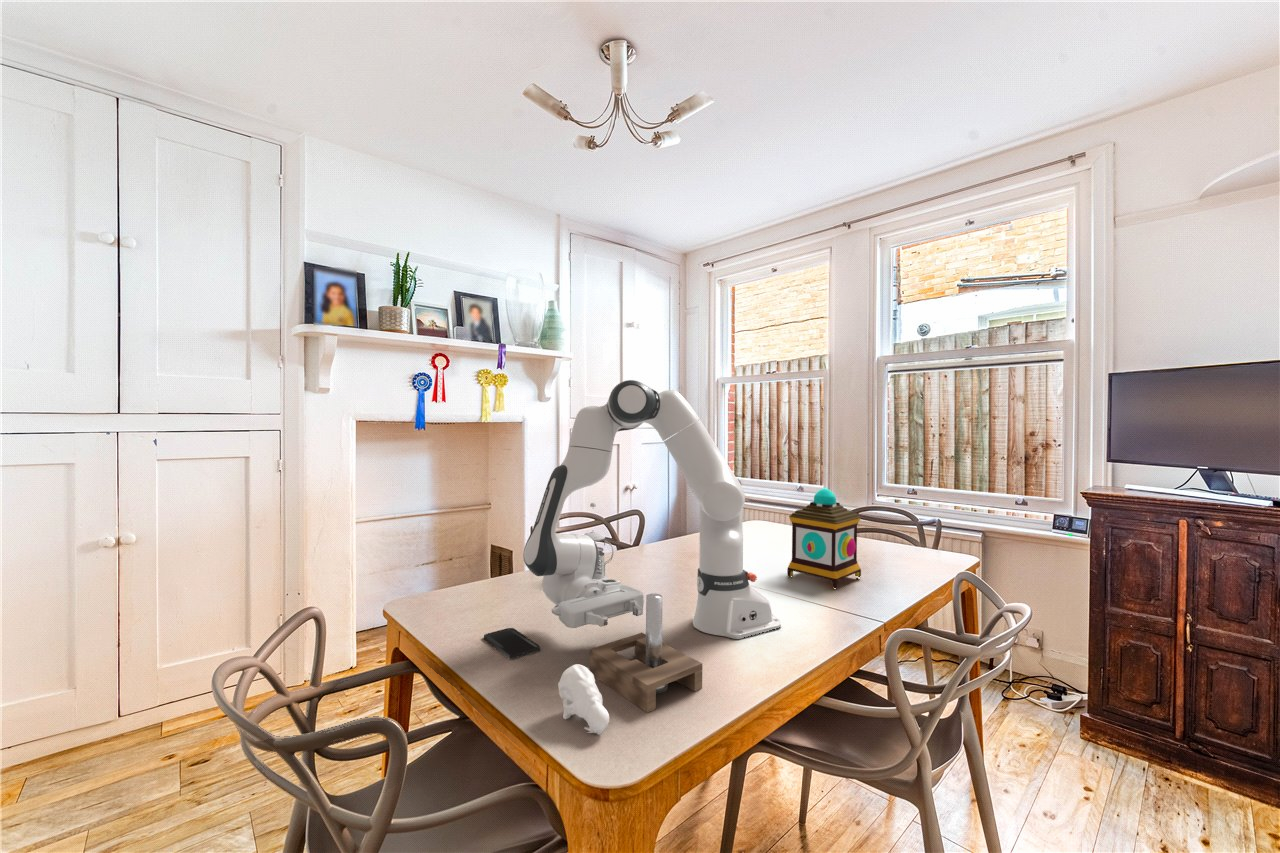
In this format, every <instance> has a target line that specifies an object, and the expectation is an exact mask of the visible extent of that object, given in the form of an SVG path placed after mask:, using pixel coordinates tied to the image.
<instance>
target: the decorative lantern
mask: <svg viewBox="0 0 1280 853" xmlns="http://www.w3.org/2000/svg"><path fill="white" fill-rule="evenodd" d="M788 518H789V520H790V522H791V526H792V531H791V534H792V535H791V560H790V562H789V563H788V567H787V571H786V572H787V573H786V574H787V577H788V576H789V577H791V576H792V577H793V575H794V572H797V573H801V574H803V575H808V576H813V577H817V578H821V579H824V580H829V581H830V582H831V585H832V588H833V587H834V588H837V589H838V584H839V581H840V580H843V579H844V578H847V577H849V576H851V575H855V576H858V577H860V576H862V570H861V567H860V565H859V563H858V560H857V557H858V556H857V554H858V553H857V550H858V549H857V548H858V546H857V545H858V524H859V523H860V521H861V516H860V515H859V514H858V513H855V511H853V510H849V509H847V508H846V507H844V506H843V505H841V503H840V502H837V497H836V494H834V492H832V491H831V490H830V489H829V488H826V487H824V488H821V489H819V490H818V491H816V493H815V494H814V497H813V501H810V503H809V504H807V505H806V506H805V507H803V508H801V509H797V510H795V511H794V512H792V513H791V514H790V515H789V516H788ZM855 576H854V577H855ZM789 577H788V578H789ZM860 578H861V577H860Z"/></svg>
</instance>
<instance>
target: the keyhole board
mask: <svg viewBox="0 0 1280 853" xmlns="http://www.w3.org/2000/svg"><path fill="white" fill-rule="evenodd" d="M630 648H634V658H635V659H633V660H630V659H628V658H627V657H625V656H623V655H621V654H620V653H619V652H621V651H624V650H628V649H630ZM588 653H589V654H588V655H589V656H588V657H589V660H588V661H589V667H588V669H589V671H590V672H592V673H593V675H594V678H595V679H597V680H599V681H601V682H602V683H603V684H605V685H606V686H608V687H609V688H611V689H612V690H613V691H615V692H617V693H618V694H619V695H621V696H622V697H624V698H625V699H627V700H628V701H629V702H631V703H632V704H634V705H636V706H637V707H638V708H640V709H641V710H643V711H644V712H645V713H649V712H652V711H654V710H656V708H657V694H656V688H658V687H661V686H663V685H666V684H668V685H669V683H673V682H677V683H680V684H681V685H683V686H684V685H685V687H686V688H688V689H690V690H691V691H693V692H697V691H700V690H702V689H703V662H701V661H699V660H697V659H695V658H693V657H691V656H689V655H687V654H686V653H683V652H681V651H679V650H677V649H676V648H674V647H671V646H669V645H667V644H666V643H663V642H662V665H660V666H658V667H655V668H651V667H649V666H648V665H646V633H644V632H639V633H635V634H632V635H630V636H626V637H624V638H620V639H617V640H614V641H611V642H608V643H605V644H602V645H598V646H595V647H592V648H589V652H588ZM701 688H702V689H701ZM699 689H700V690H699Z"/></svg>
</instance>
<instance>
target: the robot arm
mask: <svg viewBox="0 0 1280 853" xmlns="http://www.w3.org/2000/svg"><path fill="white" fill-rule="evenodd" d="M644 423H646V424H648V425H649V426H651V427H653V429H654V430H655V431H656V432H657V433H658V435H659V437H660V439H661V440H662V442H663V443H664V445H665V447H666V449H667V450H668V452H669V453H670V455H671V457H672V458H673V460H674V461H675V463H676V465H677V466H678V468H679V470H680V472H681V474H682V475H683V477H684V479H685V481H686V482H687V484H688V487H689V488H690V490H691V492H692V493H693V495H694V497H695V499H696V500H697V503H698V504H699V549H698V550H699V558H698V559H699V560H698V564H699V565H698V569H697V577H696V578H697V579H696V581H697V582H696V584H697V585H696V586H697V601H696V608H695V612H694V616H693V619H692V623H691V624H692V626H693V627H694V628H695V629H696V630H698V631H699V632H702V633H706V634H708V635H709V634H710V635H714V636H722V637H727V638H729V639H732V640H733V639H734V640H741V639H745V638H748V636H749V637H752V636H756V635H759V633H760V634H763V633H762V632H764V633H766V632H765V631H768V630H772V629H775V628H779V627H781V628H782V623H781V621H780V619H779V618H778V617H777V616H775V615H774V614H773V613H772V608H771V604H770V602H769V600H768V598H767V597H766V596H765V595H763V594H762V593H761V592H759V591H758V590H757V589H756V588H755V587H753V586H752V585H751V584H750V582H751V583H755V582H756V581H757V579H758V577H757V575H756V573H753V572H749V571H747V570H745V569H743V567H744V534H743V533H744V530H743V529H744V528H743V509H744V507H745V502H746V495H745V491H744V489H743V486H742V485H741V482H740V481H739V479H738V477H737V476H736V475H735V474H734V472H733V471H732V469H731V468H730V466H729V463H727V460H726V459H725V458H724V456H723V454H722V453H721V451H720V449H719V448H718V446H717V444H716V443H715V441H714V440H713V438H712V436H711V435H710V433H709V431H708V430H707V428H706V427H705V424H703V422H702V420H701V418H700V417H699V416H698V414H697V412H696V411H695V409H694V408H693V406H692V405H691V404H690V403H689V402H688V401H687V400H686V398H685V397H684V396H683V395H682V394H681V393H680V392H679V391H677V390H674V389H667V390H663V391H661V392H658V391H657V390H655V389H653V388H651V387H650V386H647V385H646V384H644V383H643V382H640V381H638V380H634V379H628V380H624V381H623V380H622V381H621V382H620V383H617V384H616V385H615V386H614V388H612V390H611V392H610V395H609V396H608V400H607V402H606V404H604V405H602V406H601V405H600V406H598V405H597V406H596V405H589V406H585V407H583V408H581V409H580V410H579V411H578V412H577V414H576V417H575V419H574V422H573V424H572V425H573V426H572V430H571V433H570V437H569V441H568V442H569V444H568V448H567V453H566V455H565V457H564V459H563V462H562V463H561V464H560V465H558V466H557V467H555V468H554V469H553V471H552V472H551V474H550V476H549V478H548V481H547V485H546V487H545V490H544V493H543V497H542V500H541V503H540V506H539V509H538V513H537V515H536V519H535V521H534V526H533V528H532V530H531V532H530V535H529V537H528V539H527V540H526V543H525V546H524V549H523V562H524V564H525V566H526V567H527V568H528V569H527V570H529V572H531V573H532V574H533V575H534V576H536V577H543V578H542V582H541V586H542V587H541V588H542V591H543V593H544V595H545V597H546V598H547V600H549V601H550V602H551V603H552V604H554V605H555V606H554V607H553V608H551V610H550V611H551V613H552V614H554V615H555V616H557V617H558V619H559V621H560V622H561V623H562V624H563V625H564V626H566V627H567V628H570V629H576V628H580V627H583V626H587V625H596V626H599V627H605V626H608V624H609V622H608V619H612V618H615V617H619V616H622V615H626V614H630V613H632V615H633V616H635V617H640V616H642V615H644V602H645V600H644V598H645V597H644V594H643V592H642V591H641V590H639V589H637V588H635V587H633V586H630V585H629V584H624V583H623V584H622V583H621V581H620V580H619V579H607V580H596V579H593V578H594V575H595V573H596V570H597V567H598V563H599V561H600V560H599V556H600V555H599V551H598V547H599V546H597V543H596V541H594V540H593V539H592V538H591V537H590V536H589V535H584V534H579V533H578V534H577V533H569V534H568V533H559V532H558V533H557V529H558V524H559V521H560V517H561V515H562V511H563V508H564V504H565V502H566V500H567V498H568V497H569V496H570V495H571V494H572V493H574V492H575V491H577V490H580V489H583V488H587V487H590V486H593V485H595V484H597V483H599V482H600V481H602V480H603V479H604V478H605V477H606V476H607V474H608V472H609V470H610V467H611V463H612V455H613V449H614V442H615V437H616V434H617V433H618V432H622V431H631V430H634V429H636V428H639V426H642V424H644ZM779 629H780V628H779ZM775 630H776V629H775ZM772 631H773V630H772ZM768 632H769V631H768ZM755 634H756V635H755ZM751 635H752V636H751ZM744 637H745V638H744Z"/></svg>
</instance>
